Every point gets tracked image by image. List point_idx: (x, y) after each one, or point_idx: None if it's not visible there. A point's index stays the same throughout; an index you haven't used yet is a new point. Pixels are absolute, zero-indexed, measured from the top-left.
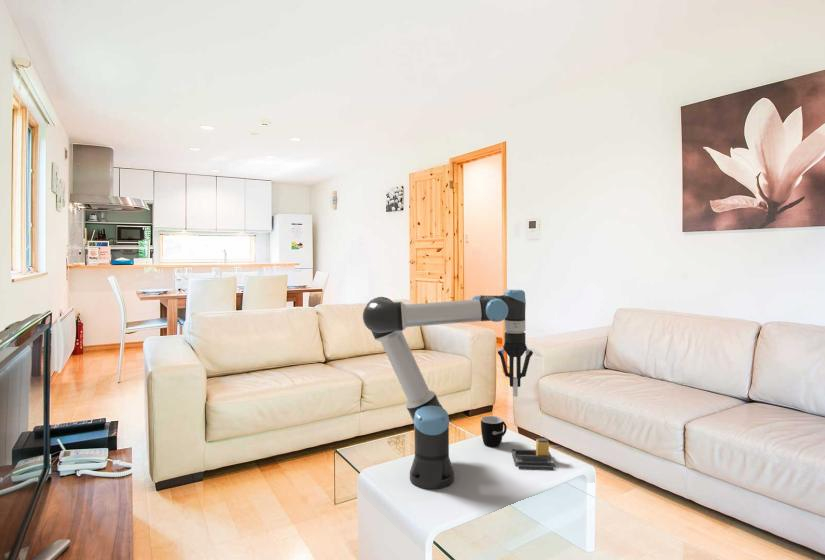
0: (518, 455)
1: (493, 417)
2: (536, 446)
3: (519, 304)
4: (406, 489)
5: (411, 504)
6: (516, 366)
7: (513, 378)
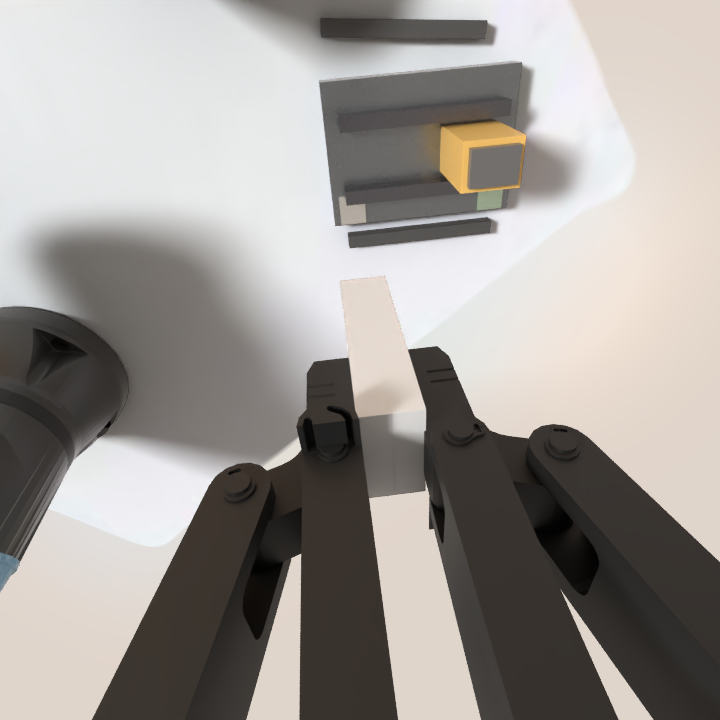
0: (351, 200)
1: None
2: (453, 148)
3: None
4: None
5: (69, 494)
6: (479, 610)
7: (367, 486)
